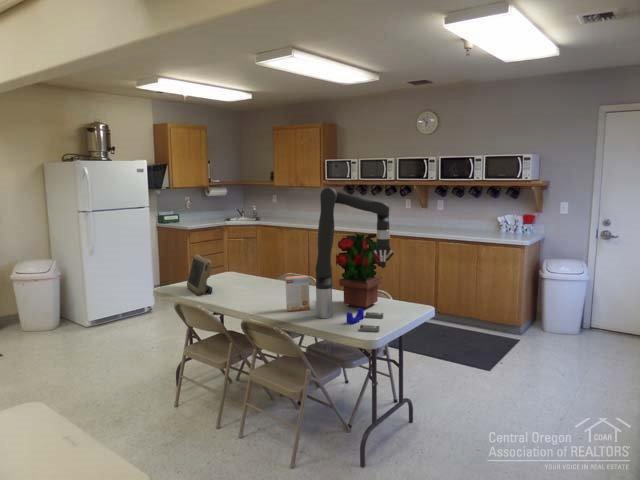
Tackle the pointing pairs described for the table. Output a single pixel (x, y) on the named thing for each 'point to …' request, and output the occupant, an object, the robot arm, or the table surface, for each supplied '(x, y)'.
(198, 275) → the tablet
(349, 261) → the potted plant
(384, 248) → the robot arm
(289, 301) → the cracker box
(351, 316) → the cable clip
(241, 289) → the table surface
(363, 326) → the label stands
